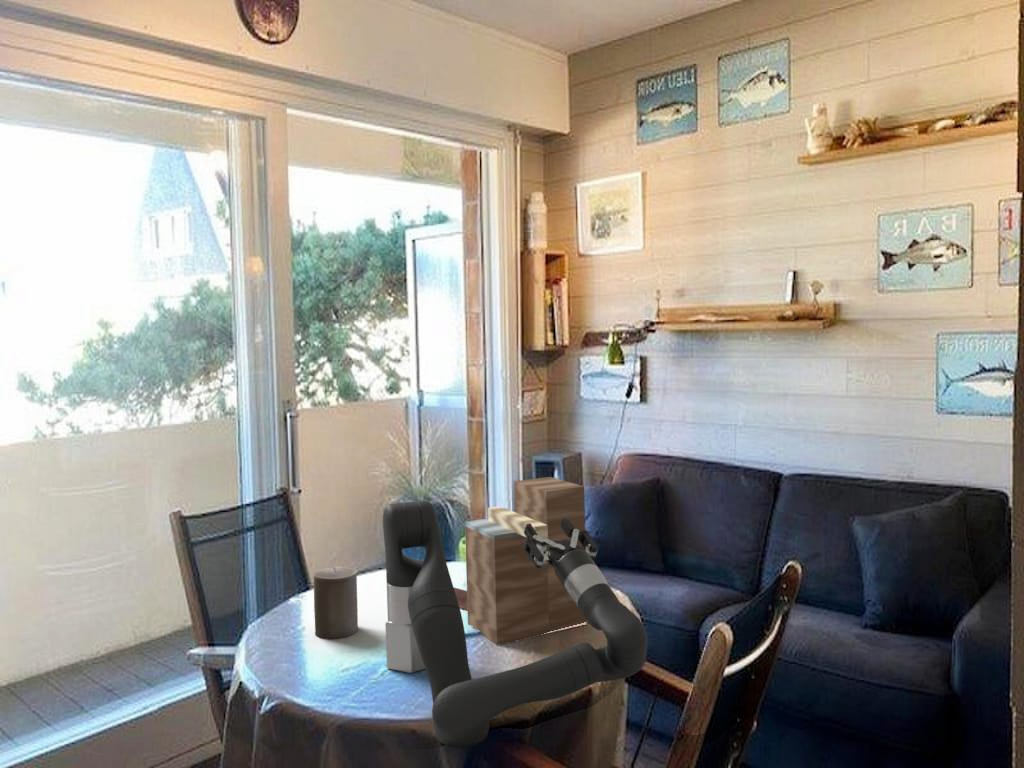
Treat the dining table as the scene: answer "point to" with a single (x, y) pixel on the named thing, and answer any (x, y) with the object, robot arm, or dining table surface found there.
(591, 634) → the dining table surface
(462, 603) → the wooden tablet
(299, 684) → the dining table surface
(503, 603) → the block
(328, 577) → the pillar candle
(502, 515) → the maple rod
